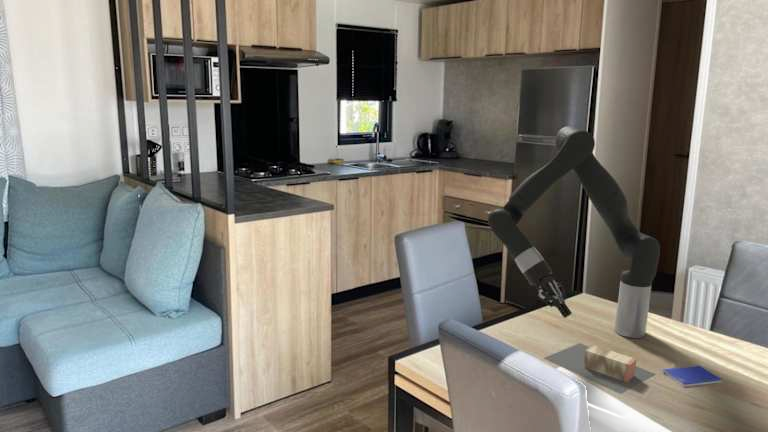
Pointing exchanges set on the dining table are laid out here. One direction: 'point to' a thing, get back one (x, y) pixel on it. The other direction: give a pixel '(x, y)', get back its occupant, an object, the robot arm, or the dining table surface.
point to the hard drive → (691, 376)
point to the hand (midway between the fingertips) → (568, 315)
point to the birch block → (610, 363)
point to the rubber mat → (575, 363)
